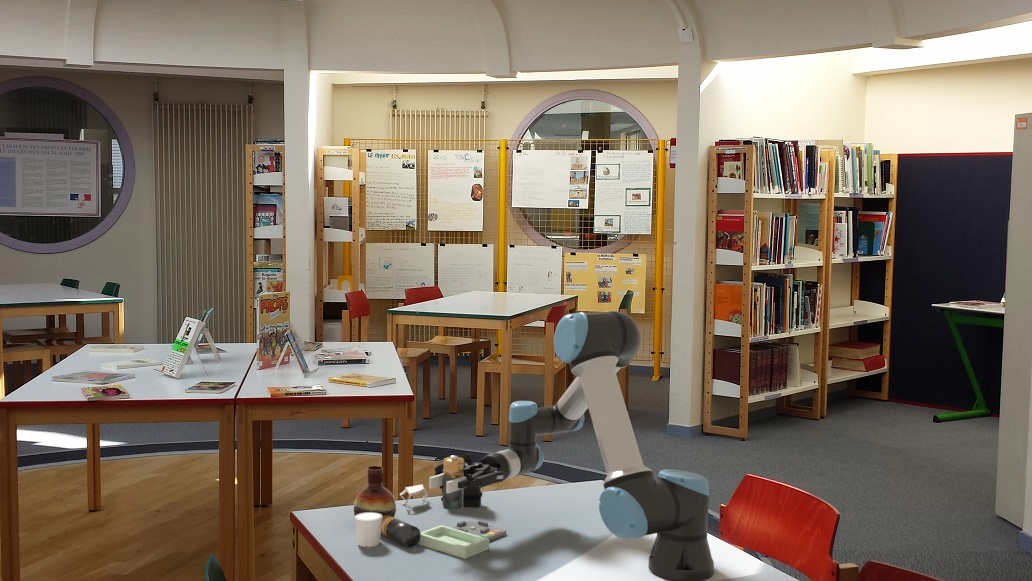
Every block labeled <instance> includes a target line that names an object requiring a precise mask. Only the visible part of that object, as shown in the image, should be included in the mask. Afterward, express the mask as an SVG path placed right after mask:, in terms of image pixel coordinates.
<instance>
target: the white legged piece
mask: <svg viewBox="0 0 1032 581" xmlns="http://www.w3.org/2000/svg"><path fill="white" fill-rule="evenodd" d="M406 493H408V498H407V499H405V498H404V496H403V495H405V494H406ZM421 493H424V494H425V495H424V496H422V498H421V500H422V499H423V500H422V505H423V506H425V504H424V503H425V501H426V499H427V498H428V492H427V490H426V488H425V487H424V484H422V483H421V484H417V485H413V486H405V487H404V490H403V491H402V492H400V493H399V496H400V497H401V498H402V499H403V501H404V502H402V504H403V505H405V506H406V507H408V508H407V509H405V511H406V512H407V511H408V510H409V509H410V508H411V507H410V506H409V504H408V503H409V501H410V499H411V497H412V496H416V495H419V494H421Z"/></svg>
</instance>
